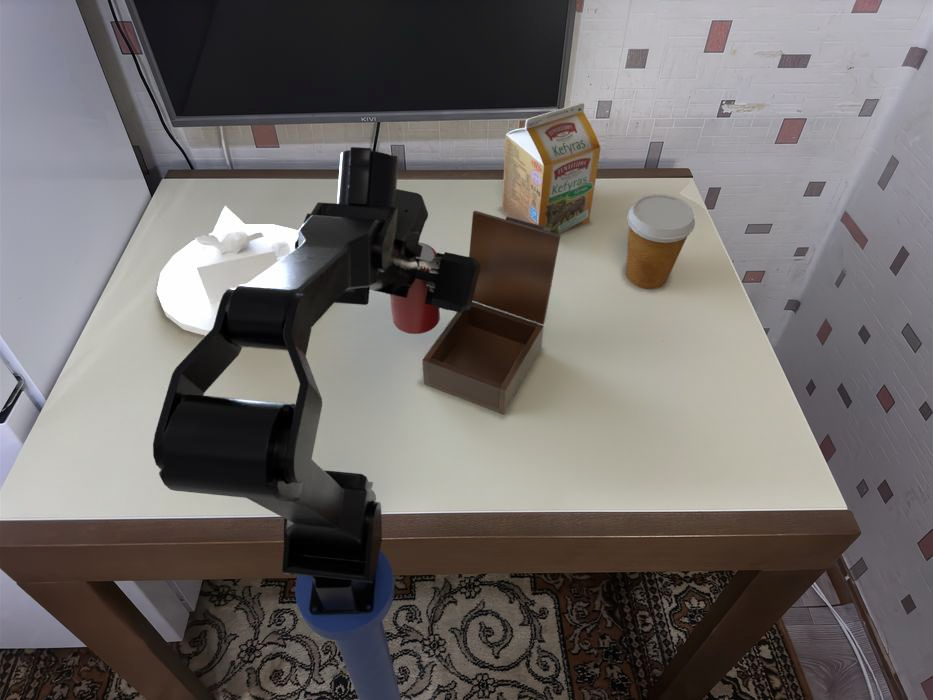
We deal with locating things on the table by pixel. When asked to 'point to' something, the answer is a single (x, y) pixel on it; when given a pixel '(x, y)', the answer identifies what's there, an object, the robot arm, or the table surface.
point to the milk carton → (551, 170)
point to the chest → (483, 356)
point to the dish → (219, 268)
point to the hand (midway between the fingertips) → (417, 277)
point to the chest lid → (513, 265)
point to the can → (416, 303)
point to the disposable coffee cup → (656, 238)
